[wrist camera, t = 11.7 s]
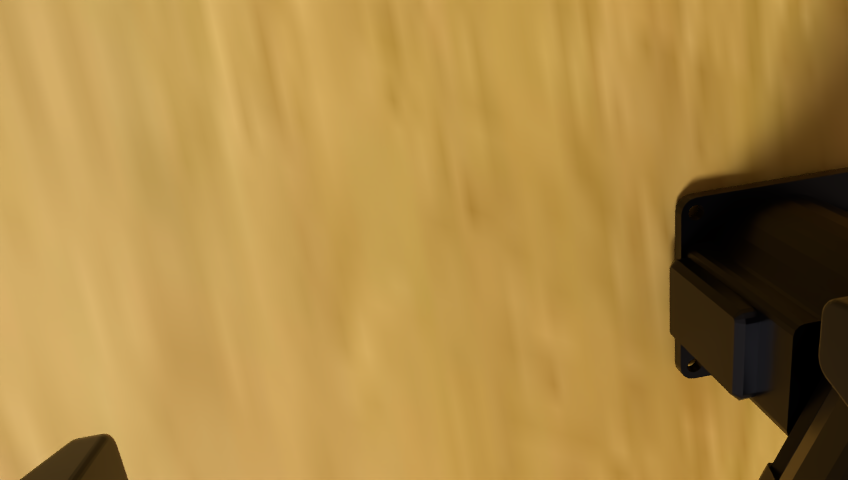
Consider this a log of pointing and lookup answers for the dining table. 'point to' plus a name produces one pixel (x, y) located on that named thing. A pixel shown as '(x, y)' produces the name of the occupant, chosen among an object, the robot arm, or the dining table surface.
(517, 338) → the dining table surface
